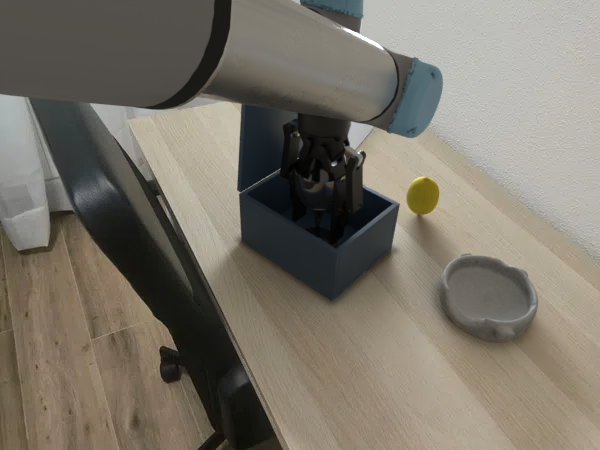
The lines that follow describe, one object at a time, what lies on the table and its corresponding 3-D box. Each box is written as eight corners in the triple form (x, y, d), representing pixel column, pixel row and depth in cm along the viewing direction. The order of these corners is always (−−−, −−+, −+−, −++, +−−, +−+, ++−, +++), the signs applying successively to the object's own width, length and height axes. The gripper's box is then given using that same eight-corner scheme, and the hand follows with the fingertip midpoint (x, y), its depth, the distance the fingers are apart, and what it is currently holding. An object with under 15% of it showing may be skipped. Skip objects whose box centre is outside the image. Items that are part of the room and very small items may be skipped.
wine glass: (318, 265, 87) (324, 189, 77) (282, 241, 91) (283, 166, 81) (350, 241, 92) (359, 166, 82) (314, 219, 95) (319, 145, 86)
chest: (391, 249, 91) (400, 203, 85) (331, 301, 82) (336, 254, 76) (303, 198, 101) (305, 154, 95) (241, 240, 92) (238, 193, 86)
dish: (514, 362, 75) (524, 339, 72) (420, 316, 81) (426, 293, 77) (543, 297, 84) (553, 274, 81) (457, 260, 90) (464, 237, 87)
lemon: (440, 217, 98) (450, 181, 93) (417, 227, 96) (425, 191, 91) (420, 200, 102) (428, 164, 96) (396, 210, 99) (403, 173, 94)
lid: (324, 41, 80) (287, 21, 83) (247, 75, 71) (208, 51, 74) (306, 153, 94) (275, 132, 97) (240, 192, 85) (208, 168, 88)
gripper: (403, 116, 72) (381, 245, 87) (289, 68, 81) (287, 191, 96) (369, 138, 67) (352, 270, 82) (253, 84, 77) (257, 211, 92)
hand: (317, 227), depth 89 cm, fingers open, 7 cm apart
